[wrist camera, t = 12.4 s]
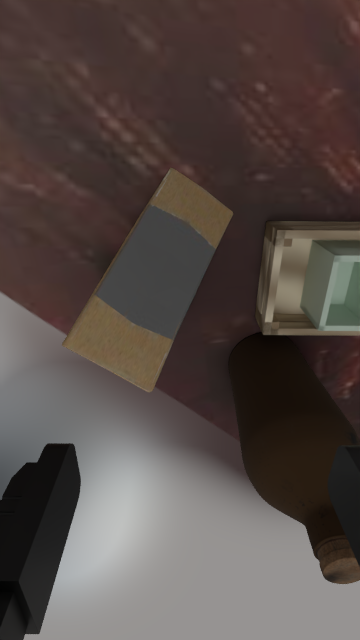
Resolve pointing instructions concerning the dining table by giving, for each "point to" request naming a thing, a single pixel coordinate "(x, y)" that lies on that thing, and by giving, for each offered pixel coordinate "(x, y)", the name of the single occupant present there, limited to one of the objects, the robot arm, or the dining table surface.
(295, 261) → the big crate
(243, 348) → the olive oil
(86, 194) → the dining table surface
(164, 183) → the sandwich container
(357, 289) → the box
